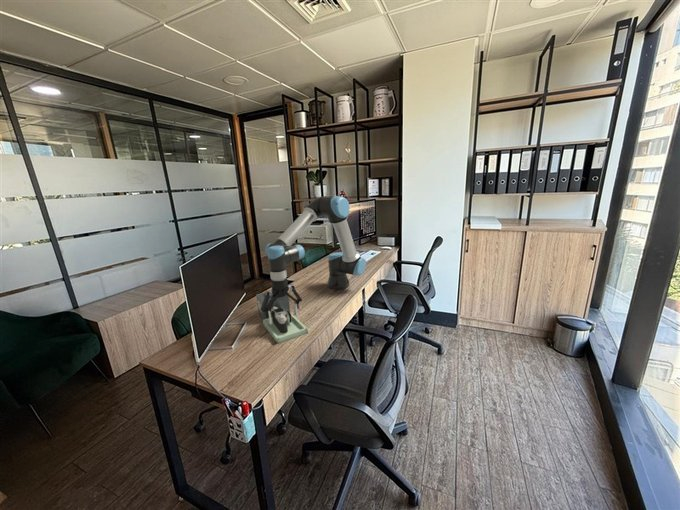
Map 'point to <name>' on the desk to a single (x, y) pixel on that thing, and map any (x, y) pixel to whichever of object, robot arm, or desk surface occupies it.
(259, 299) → the block
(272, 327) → the tray
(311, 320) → the desk surface
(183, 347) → the desk surface
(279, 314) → the camera
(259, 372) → the desk surface
